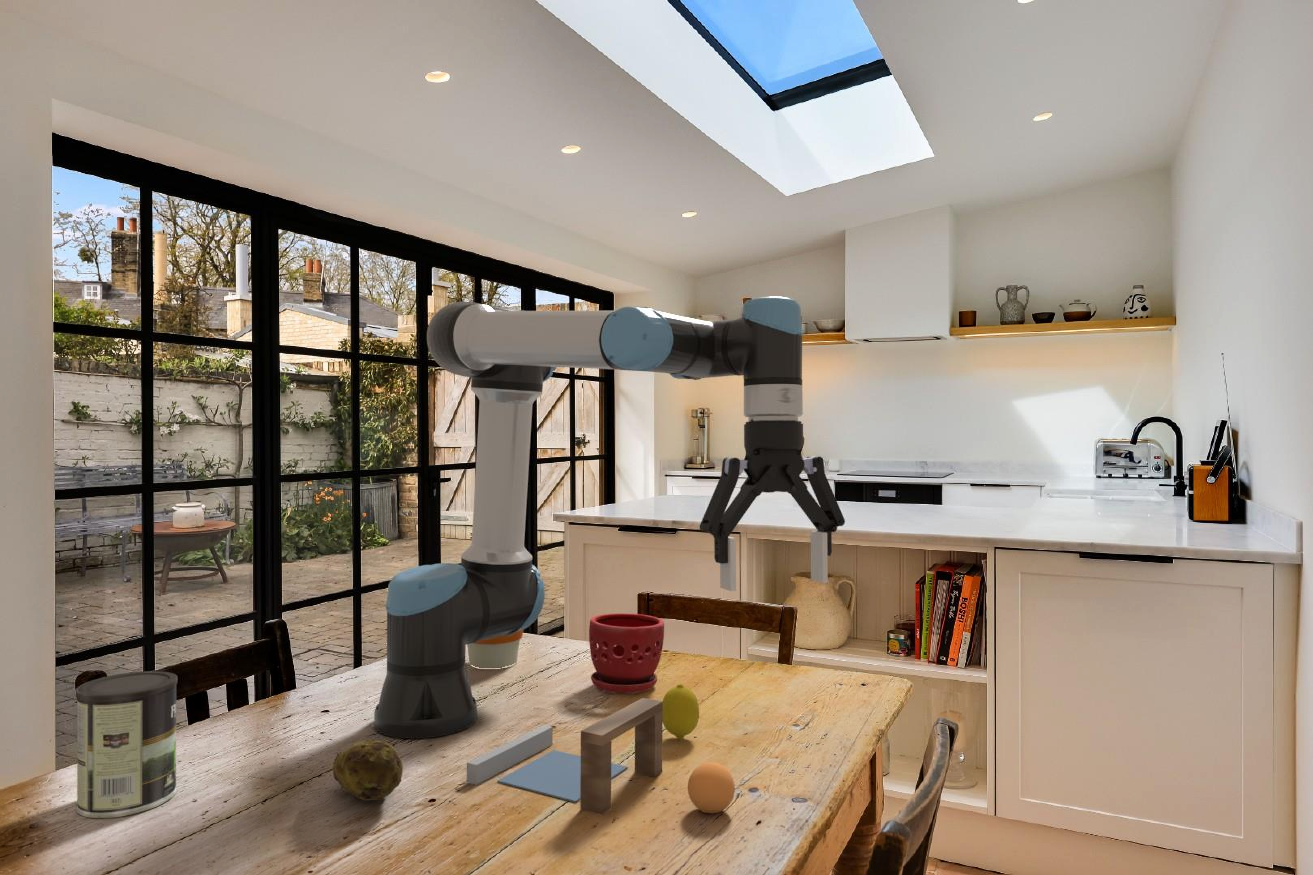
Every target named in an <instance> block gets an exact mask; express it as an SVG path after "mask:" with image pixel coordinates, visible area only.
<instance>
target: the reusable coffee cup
mask: <svg viewBox="0 0 1313 875" xmlns="http://www.w3.org/2000/svg"><path fill="white" fill-rule="evenodd" d="M523 633H524V629H523V630H520V631H517V632H516V633H514V634H511V635H508V636H500V637H495V638H491V639H487V640H483V641H479V642H475V643H471V644H467V645H466V647H467V654H468V655H467V656H468V661H469V662H468V663H469V665H470V664H471V665H473V666H475V667H479V668H502V667H505V666H509V665H512V664H514V663H516V662H517V663H518V656H519V650H520V649H519V648H520V647H519V646H520V640H521V639H522V638H523ZM517 663H516V664H517Z"/></svg>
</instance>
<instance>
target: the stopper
mask: <svg viewBox="0 0 1313 875" xmlns="http://www.w3.org/2000/svg"><path fill="white" fill-rule="evenodd" d="M553 728H554V727H553V726H550V725H546V724H545V725H544V724H543V725H541V726H539V727H536V728H534V729H533V730H530V731H528V732H526V733H524V734H522V735H520V736H518V737H516V738H514V739H512V740H510V741H507V742H506V743H504V744H502V745H500V746H498V747H496V748H494V749H491V750H489V751H488V752H485V753H483V754H481V755H479V756H477V757H475V758H473V759H471V760H469V761H467V762H466V783H467V784H470V785H471V784H472V785H475V786H478V785H479V784H481V783H483V782H485V781H487V780H488V779H490V778H492V777H494V776H496V775H498V774H500V773H502V772H503V771H505V770H507V769H509V768H511V767H514V766H515V765H517V764H519V763H521V762H522V761H524V760H526V759H528V758H530V757H532V756H534V755H536V754H538V753H539V752H541V751H543V750H545V749H547V748H549V747H551V746H552V745H553V738H554V737H553V734H554V733H553V731H554V730H553Z"/></svg>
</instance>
